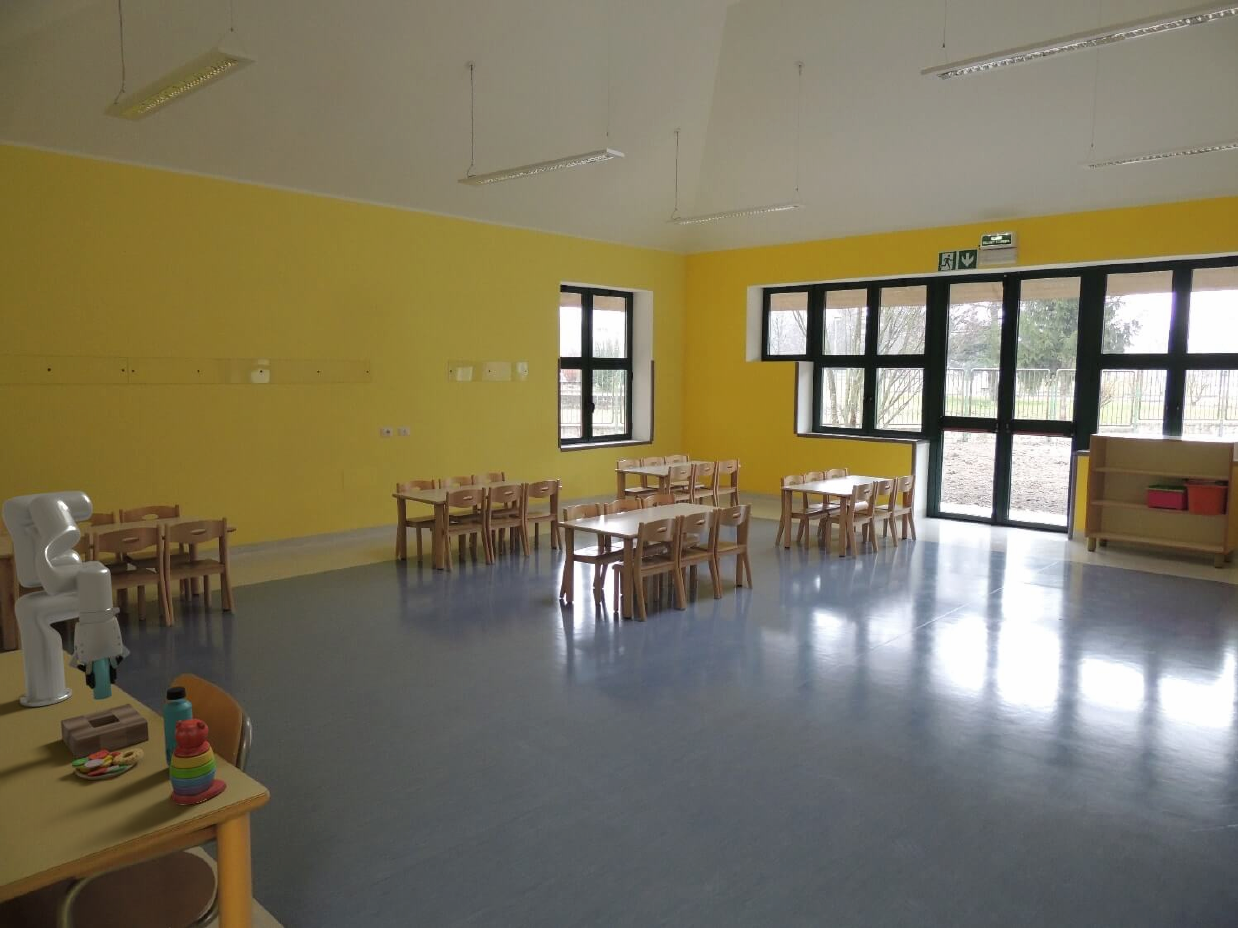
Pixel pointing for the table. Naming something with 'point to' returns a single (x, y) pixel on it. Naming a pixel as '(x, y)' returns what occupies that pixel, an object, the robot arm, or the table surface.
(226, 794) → the table surface
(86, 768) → the toy food set
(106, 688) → the peg
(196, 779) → the stacking bear
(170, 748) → the beverage bottle
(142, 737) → the socket block
